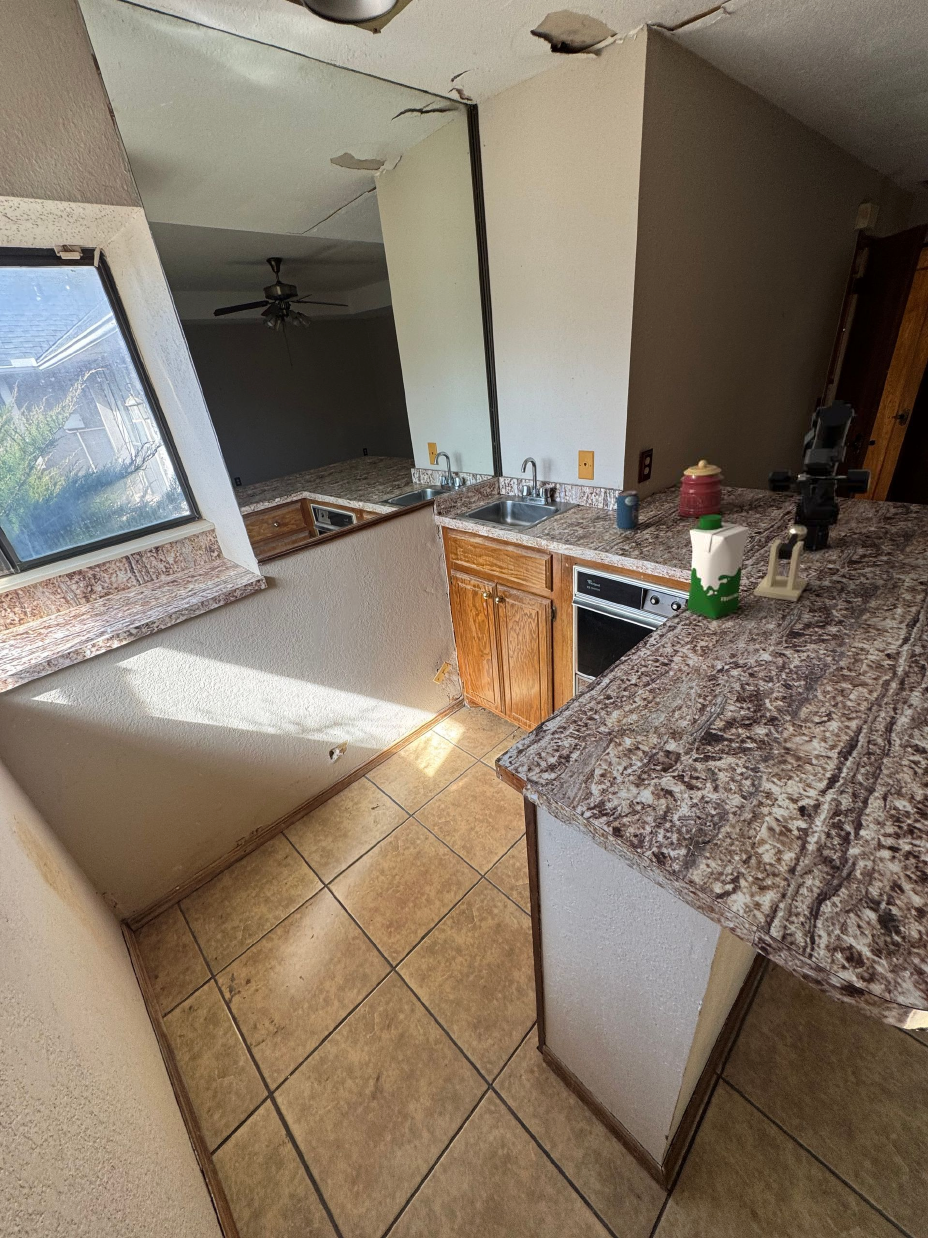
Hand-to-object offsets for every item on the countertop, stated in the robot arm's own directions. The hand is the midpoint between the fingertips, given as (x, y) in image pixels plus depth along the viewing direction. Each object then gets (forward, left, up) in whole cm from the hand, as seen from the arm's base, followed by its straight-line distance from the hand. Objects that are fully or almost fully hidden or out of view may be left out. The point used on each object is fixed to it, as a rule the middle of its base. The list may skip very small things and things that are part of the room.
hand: (807, 514), depth 108 cm
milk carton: (+5, -30, -14) cm, 33 cm away
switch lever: (+3, -7, -6) cm, 10 cm away
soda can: (-56, -7, -14) cm, 59 cm away
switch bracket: (+6, -12, -14) cm, 19 cm away
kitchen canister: (-53, +20, -14) cm, 59 cm away
